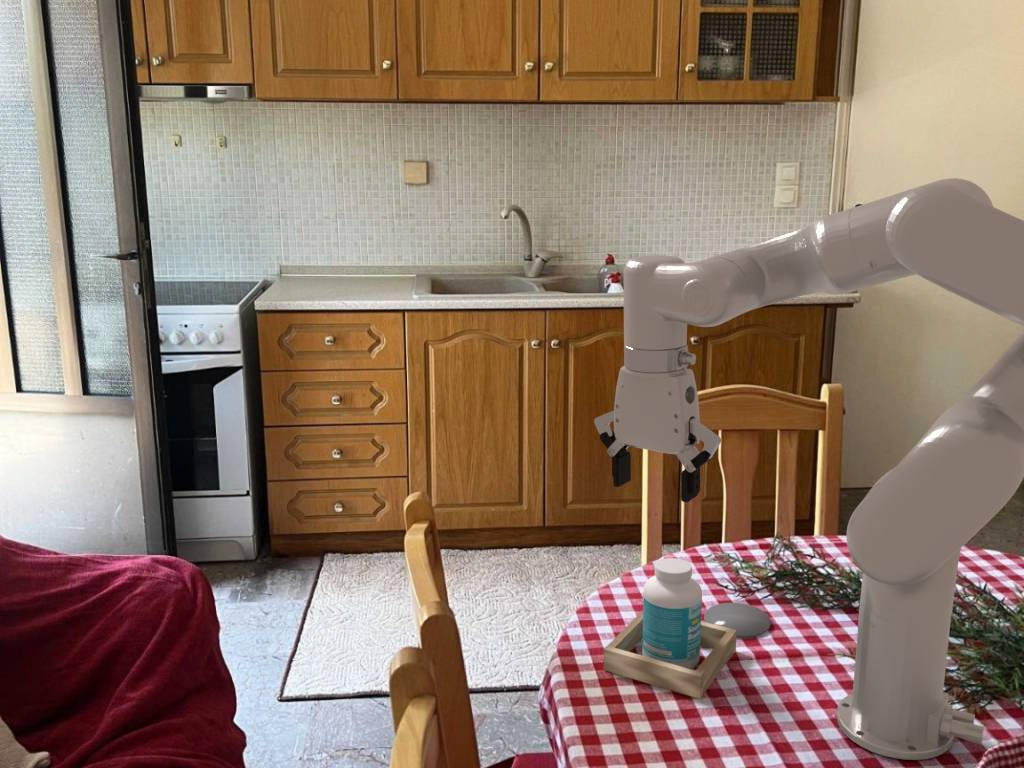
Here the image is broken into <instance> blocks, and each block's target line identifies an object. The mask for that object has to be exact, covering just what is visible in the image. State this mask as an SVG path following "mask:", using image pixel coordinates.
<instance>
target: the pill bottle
mask: <svg viewBox="0 0 1024 768" xmlns="http://www.w3.org/2000/svg"><path fill="white" fill-rule="evenodd" d="M642 603H643V604H642V608H643V609H642V611H643V639H642V645H641V646H642V650H641V651H642V656H645V657H649V658H652V659H656V660H659V661H663V662H666V663H670V664H674V665H677V666H681V667H684V668H688V669H691V670H694V668H695V667H697V665H698V664H699V661H700V657H701V645H700V637H701V621H702V609H703V607H702V605H703V591H702V586H701V585H700V583H699V582H698V581H697V580H696V579H695V578H694V577H693V566H692V563H690V562H689V561H687V560H684V559H681V558H674V557H668V558H667V557H666V558H662V559H659V560H657V561H656V562H655V563H654V575H652V576H651V577H650V578H649V579H647V581H645V583H644V585H643V601H642Z"/></svg>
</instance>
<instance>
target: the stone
mask: <svg viewBox="0 0 1024 768" xmlns="http://www.w3.org/2000/svg"><path fill="white" fill-rule="evenodd" d="M703 617H704V618H703V620H704V621H703V622H707V623H710V624H714V625H718V626H722V627H726V628H730V629H734V630H737V638H736V639H750V638H751V639H752V638H756V637H761V636H762V635H764V634H765V633H767V632H768V631H769V630H770V627H771V618H770V616H769V615H768V613H766V612H765V611H763V610H762V609H760V608H758V607H756V606H753V605H750V604H745V603H740V602H722V603H719V604H715V605H712V606H710V607H709V608H707V609H706V610H705V612H704V616H703Z"/></svg>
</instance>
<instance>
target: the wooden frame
mask: <svg viewBox="0 0 1024 768" xmlns="http://www.w3.org/2000/svg"><path fill="white" fill-rule="evenodd" d="M737 639H738V638H737V630H734V629H730V628H726V627H722V626H718V625H714V624H710V623H707V622H704V621H702V620H701V637H700V647H701V646H702V647H706V648H709V649H712V650H711V651H710V652H709V653H708V655H707V656H706V657H705V658H704V660H703V661H702V662H701V663H700V665H699V666H698V667H697V669H696V670H695V669H688V668H684V667H681V666H677V665H674V664H670V663H666V662H663V661H659V660H656V659H652V658H649V657H645V656H643V654H642V655H641V654H638V653H634V652H631V651H632V650H634V649H635V647H636V646H637V645H638V644H639V643H640V642H642V641H643V610H642V611H640V613H639V614H638V615H636V617H635V618H633V620H631V622H629V623H628V624H627V626H625V627H624V628H623V629H622V631H621V632H620V633H619V634H618V635H617V636H616V637H614V638H613V640H612V641H610V642H609V643H608V645H606V647H604V649H603V671H606V672H609V673H611V674H616V675H619V676H621V677H622V676H623V677H625V678H629V679H632V680H636V681H639V682H642V683H645V684H649V685H652V686H656V687H659V688H663V689H665V690H669V691H671V692H675V693H679V694H682V695H686V696H689V697H692V698H695V699H699V700H700V699H701V698H702V696H703V695H704V694H705V693H706V691H707V690H708V688H709V687H710V686H711V684H712V683H713V682H714V681H715V679H716V678H717V676H718V675H719V674H720V672H721V671H722V670H723V668H724V667H725V666H726V664H727V663H728V661H730V659H731V658H732V657H733V655H734V654H735V652H736V651H737Z"/></svg>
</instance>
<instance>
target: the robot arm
mask: <svg viewBox="0 0 1024 768" xmlns="http://www.w3.org/2000/svg"><path fill="white" fill-rule="evenodd" d="M915 275H917V276H919V277H921V278H923V279H924V280H927V281H928V282H930V283H932V284H934V285H936V286H938V287H939V288H942V289H944V290H946V291H948V292H950V293H951V294H955V295H956V296H958V297H959V298H962V299H965V300H967V301H969V302H971V303H974V304H976V305H977V306H980V307H981V308H983V309H986V310H988V311H990V312H992V313H994V314H996V315H998V316H1000V317H1003V318H1005V319H1007V320H1009V321H1012V322H1013V323H1015V324H1019V326H1020V325H1021V326H1023V327H1024V220H1023V219H1021V218H1019V217H1017V216H1014V215H1011V214H1009V213H1007V212H1005V211H1003V210H1001V209H999V208H997V207H994V205H993V203H992V200H991V198H990V196H989V195H988V193H986V191H985V190H984V189H983V188H982V187H981V186H979V185H978V184H976V183H974V182H972V181H971V180H967V179H963V178H944V179H939V180H935V181H933V182H929V183H926V184H922V185H919V186H916V187H914V188H910V189H907V190H903V191H901V192H898V193H895V194H892V195H889V196H885V197H882V198H880V199H876V200H873V201H870V202H867V203H864V204H861V205H858V206H854V207H851V208H848V209H845V210H842V211H839V212H835V213H831V214H828V215H825V216H823V217H821V218H818V219H815V220H813V221H812V222H811V223H809V224H808V225H806V226H804V227H801V228H799V229H796V230H795V231H792V232H788V233H786V234H782V235H780V236H776V237H773V238H770V239H767V240H764V241H759V242H756V243H754V244H750V245H747V246H744V247H741V248H737V249H734V250H731V251H728V252H727V251H726V252H725V253H721V254H717V255H714V256H712V257H708V258H705V259H702V260H701V259H700V260H698V261H693V262H685V261H684V260H683V259H682V258H680V257H678V256H674V255H662V254H658V255H657V254H654V255H653V254H651V255H642V256H636V257H632V258H631V259H629V260H628V261H627V262H626V263H625V265H624V267H623V343H624V344H623V355H624V356H623V361H624V362H623V365H622V366H621V367H620V369H619V373H618V378H617V382H616V386H615V387H616V388H615V396H614V407H613V409H614V410H611V411H609V412H607V413H604V414H602V415H600V416H598V417H595V418H594V419H593V423H594V425H595V427H596V430H597V432H598V434H599V439H600V441H601V443H602V444H603V445H604V447H605V448H607V454H608V455H609V457H611V476H612V479H613V481H612V482H613V487H615V488H619V487H622V486H624V485H625V484H627V483H629V482H630V481H631V479H632V478H631V477H632V474H631V473H632V470H631V469H632V463H631V462H632V461H631V459H632V458H631V457H632V456H631V452H630V450H627V449H628V448H629V447H631V448H632V447H633V448H637V449H642V450H648V451H652V452H657V453H664V454H669V455H676V457H677V458H678V460H679V461H680V463H681V464H682V466H683V467H684V469H683V470H682V471H681V472H680V501H682V502H683V503H689V502H690V501H692V500H693V499H695V498H697V496H698V495H699V493H700V491H701V468H702V467H703V466H705V464H706V463H708V462H709V461H710V460H712V458H713V457H714V456H715V453H716V451H717V450H718V448H719V446H720V445H721V442H722V438H721V437H720V435H718V434H716V433H715V432H714V431H712V430H711V429H709V428H708V427H707V426H705V425H704V424H703V423H701V420H700V419H701V417H700V403H699V393H698V388H697V383H696V379H695V378H696V377H695V374H694V371H693V369H690V368H687V367H688V366H694V365H695V364H696V361H697V356H696V354H695V353H691V352H690V351H689V345H688V343H687V341H688V339H687V338H688V337H687V335H688V332H687V331H688V330H687V329H688V325H690V326H695V327H703V328H710V327H717V326H719V325H722V324H723V323H726V322H728V321H730V320H732V319H735V318H736V317H738V316H740V315H742V314H745V313H747V312H750V311H752V310H756V309H759V308H762V307H765V306H769V305H772V304H773V305H774V304H776V303H780V302H783V301H786V300H790V299H795V298H799V297H802V296H808V295H812V294H818V293H824V294H825V293H826V294H831V295H843V294H850V293H854V292H856V291H859V290H862V289H867V288H870V287H874V286H877V285H881V284H885V283H889V282H893V281H896V280H900V279H903V278H907V277H911V276H915ZM612 422H613V430H614V431H613V430H611V425H610V424H611V423H612ZM700 441H701V442H702V443H703V448H702V449H701V452H700V451H699V450H698V448H697V447H696V446H697V445H699V443H700ZM1023 479H1024V329H1023V330H1022V331H1021V332H1020V334H1019V336H1018V337H1017V338H1016V339H1015V340H1014V341H1013V342H1012V343H1011V345H1010V346H1009V347H1008V348H1007V349H1006V350H1005V351H1004V352H1003V353H1002V354H1001V355H1000V357H998V359H997V360H996V362H995V363H994V364H993V365H992V366H991V367H990V368H989V369H988V370H987V372H986V373H984V375H982V377H981V378H980V379H979V380H978V381H977V382H976V383H975V384H974V386H972V388H970V389H969V390H968V391H967V392H965V394H964V395H963V396H962V397H961V398H960V399H959V400H957V401H956V402H955V403H954V404H953V405H951V406H950V407H949V408H947V409H946V410H945V411H943V413H941V415H940V416H939V417H937V418H936V419H935V421H934V423H933V424H932V425H931V426H930V427H929V429H928V430H927V431H926V433H925V434H924V435H923V436H922V437H921V438H920V439H919V441H918V442H917V443H916V444H915V446H913V447H912V448H911V450H909V452H908V453H907V454H906V455H905V456H904V457H903V458H902V459H901V461H899V463H898V464H897V465H896V466H895V467H894V468H892V469H890V470H889V471H888V472H886V473H884V474H883V475H882V476H881V477H880V478H879V479H878V480H877V481H876V482H875V483H874V485H873V486H872V487H871V488H870V490H868V492H867V493H866V495H865V497H864V498H863V499H862V500H861V502H860V503H859V504H858V505H857V507H856V508H855V509H854V511H853V512H852V513H851V516H850V518H849V520H848V524H847V529H846V545H847V549H848V552H849V555H850V557H851V559H852V561H853V562H854V565H855V566H856V567H857V568H858V569H859V570H860V572H862V576H861V577H862V578H861V589H860V599H859V609H858V624H857V635H856V636H857V637H856V648H855V659H854V670H853V671H854V672H853V673H854V674H853V685H852V693H850V694H848V695H846V696H845V697H843V698H842V699H841V701H840V702H839V703H838V706H837V707H836V708H837V709H836V720H837V724H838V726H839V728H840V730H841V731H842V732H843V733H844V735H846V737H847V738H848V739H850V740H851V741H852V742H853V743H854V744H855V743H856V745H858V746H859V747H861V748H863V749H865V750H867V751H869V752H872V753H873V754H874V753H875V754H877V755H880V756H884V757H888V758H891V759H898V760H904V761H906V760H907V761H908V760H909V761H921V760H928V759H932V758H937V757H939V756H941V755H943V754H945V753H946V752H947V751H949V750H950V748H951V746H952V745H953V743H954V738H955V737H956V738H959V739H963V740H964V741H968V742H971V743H973V744H974V743H975V744H977V745H982V743H983V738H984V732H985V731H984V729H985V727H984V726H982V725H979V724H975V719H976V718H975V717H976V715H975V714H973V713H970V712H967V711H960V710H956V709H954V707H953V706H952V705H951V706H950V705H948V704H949V696H950V695H949V693H948V692H945V691H944V688H945V687H944V686H945V677H946V667H947V660H948V649H949V641H950V631H951V630H950V629H951V620H952V615H953V608H954V599H955V592H956V591H955V590H956V582H957V576H958V575H957V573H958V567H959V561H960V556H961V550H962V548H963V547H964V546H965V545H966V544H967V543H968V542H969V541H970V540H971V539H972V538H973V537H974V536H975V535H976V534H977V533H978V532H980V531H981V530H982V529H983V528H984V527H985V526H986V525H987V524H988V523H989V522H990V521H991V520H992V519H993V518H994V517H995V516H996V515H997V514H998V513H999V512H1000V511H1001V510H1003V508H1004V507H1005V505H1006V504H1007V503H1008V502H1010V499H1012V497H1013V496H1014V495H1015V493H1016V492H1017V490H1018V489H1019V487H1020V486H1021V483H1022V482H1023Z"/></svg>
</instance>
